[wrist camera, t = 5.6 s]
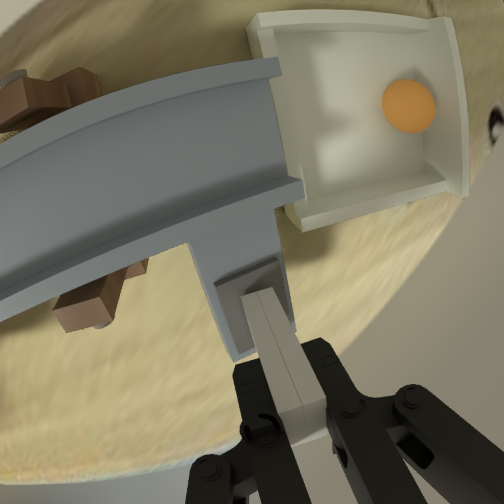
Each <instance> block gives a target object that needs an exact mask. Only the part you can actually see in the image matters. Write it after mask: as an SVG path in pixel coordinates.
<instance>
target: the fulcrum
mask: <svg viewBox="0 0 504 504" xmlns="http://www.w3.org/2000/svg"><path fill="white" fill-rule="evenodd" d="M0 86H1V91H0V133H5V132H10V131H15V130H19V133H21V132H22V131H24V130H26V129H28V128H30V127H32V126H34V125H36V124H38V123H40V122H42V121H44V120H46V119H49V118H51V117H53V116H55V115H57V114H60V113H62V112H64V111H66V110H69V109H71V108H73V107H76V106H78V105H81V104H83V103H86V102H88V101H91V100H94V99H96V98H99V97H102V96H101V91H100V87H99V83H98V79H97V74H95V73H92V72H90V71H88V70H85V69H83V68H81V67H78V68H76V69H74V70H72V71H70V72H68V73H65V74H63V75H61V76H59V77H57V78H55V79H53V80H51V81H44V80H39V79H33V78H28V77H27V71H26V70H25V69H21V70H16V71H14V72H11V73H9V74H8V75H6V76H4V77H3V78H2V79H1V80H0ZM148 260H149V258H146V259H144V260H141V261H139V262H136V263H134V264H131V265H129V266H127V267H124V268H122V269H119V270H117V271H115V272H112V273H110V274H107V275H105V276H103V277H100V278H98V279H96V280H93V281H91V282H89V283H86V284H84V285H82V286H79V287H77V288H75V289H72V290H70V291H68V292H65V293H63V294H61V295H60V297H59V299H58V301H57V303H56V305H55V307H54V309H53V312H54V314H55V316H56V317H57V319H58V320H59V322H60V324H61V325H62V327H63V328H64V330H65V332H66V333H69V332H73V331H77V330H80V329H84V328H88V327H92V326H93V327H94V328H95V329H101V328H104V327H106V326H108V325H109V324H110V323H111V322H112V321H113V320H114V318H115V311H116V308H117V304H118V300H119V297H120V293H121V289H122V286H123V282H124V280H126V279H129V278H132V277H136V276H139V275H142V274H146V270H147V265H148Z"/></svg>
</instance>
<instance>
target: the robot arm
mask: <svg viewBox="0 0 504 504" xmlns="http://www.w3.org/2000/svg"><path fill="white" fill-rule="evenodd" d="M240 297H241V300H242V304H243V307H244V311H245V314H246V317H247V321H248V324H249V327H250V331H251V334H252V337H253V340H254V344H255V347H256V350H257V353H258V356H259V358H257V359H254V360H251V361H247V362H244V363H240V364H237V365H235V368H234V372H233V375H232V376H233V381H234V385H235V390H236V394H237V399H238V403H239V408H240V412H241V416H242V423H241V425H240V435H241V436H242V439H241V441H240V442H239V443H238V444H237V445H236V446H235V447H234V448H232V449H231V450H229V451H227V452H225V453H223V454H222V455H215V454H209V455H204V456H202V457H200V458H198V459H197V460H196V461H195V462H194V463H193V464H192V467H191V469H190V475H189V480H188V488H187V494H186V501H185V504H249V495H250V494H252V493H254V492H256V491H257V490H258V493H259V496H260V499H261V503H262V504H312V503H311V500H310V498H309V495H308V492H307V489H306V487H305V484H304V481H303V478H302V476H301V473H300V470H299V467H298V465H297V462H296V459H295V456H294V454H293V451H292V448H291V447H293V446H296V445H300V444H303V443H306V442H308V441H311V440H314V439H317V438H320V437H323V436H325V435H328V431H329V434H330V436H331V438H332V450H333V454H337V457H338V459H339V461H340V464H341V466H342V468H343V471H344V473H345V475H346V477H347V480H348V482H349V484H350V486H351V489H352V491H353V493H354V495H355V497H356V500H357V502H358V504H428V503H427V502H426V500H425V498H424V496H423V494H422V493H421V491H420V489H419V487H418V485H417V484H416V482H415V480H414V478H413V476H412V474H411V473H410V471H409V469H408V467H407V466H406V464H405V462H404V460H405V461H406V462H407V463H408V464H409V465H410V466H411V467H412V468H413V469H414V470H415V471H417V473H418V474H420V475H421V476H422V477H423V478H424V479H425V480H426V481H427V482H428V483H429V484H430V485H431V486H432V487H433V488H434V489H435V490H436V491H437V492H438V493H439V494H440V495H441V496H443V497H444V498H445V499H446V500H447V501H448V502H449V503H450V504H504V452H503V451H502V450H501V449H499V448H498V447H497V446H496V445H495V444H493V443H492V442H491V441H490V440H488V439H487V438H486V437H485V436H484V435H482V434H481V433H480V432H479V431H477V430H476V429H475V428H474V427H472V426H471V425H470V424H469V423H468V422H466V421H465V420H464V419H463V418H461V417H460V416H459V415H458V414H457V413H455V412H454V411H453V410H452V409H451V408H449V407H448V406H447V405H445V404H444V403H443V402H442V401H441V400H440V399H438V398H437V397H436V396H435V395H433V394H432V393H431V392H429V390H427V389H426V388H424V387H422V386H421V385H416V384H410V385H406V386H404V387H402V388H400V389H399V390H398V392H397V393H396V394H395V395H393V396H386V397H380V398H373V397H368V396H365V395H363V394H362V393H360V392H359V391H358V390H357V389H356V387H355V386H354V384H353V382H352V381H351V379H350V377H349V375H348V373H347V372H346V370H345V368H344V367H343V365H342V363H341V362H340V360H339V358H338V356H337V355H336V353H335V351H334V350H333V348H332V346H331V345H330V343H328V342H327V341H325V340H324V339H322V338H321V337H320V338H317V339H314V340H311V341H308V342H305V343H302V344H300V343H299V341H298V339H297V337H296V334H295V332H294V330H293V328H292V326H291V324H290V322H289V320H288V318H287V316H286V314H285V312H284V310H283V308H282V306H281V304H280V302H279V300H278V298H277V296H276V294H275V292H274V290H273V287H270V288H267V289H263V290H260V291H257V292H253V293H250V294H247V295H243V296H240ZM403 459H404V460H403Z"/></svg>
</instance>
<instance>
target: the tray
mask: <svg viewBox="0 0 504 504" xmlns="http://www.w3.org/2000/svg"><path fill="white" fill-rule="evenodd" d="M245 30H246V34H247V38H248V42H249V46H250V50H251V54H252V58H253V59H261V58H270V57H278V59H279V63H280V68H281V72H282V76H278V77H274V78H271V79H268V82H269V86H270V91H271V95H272V100H273V104H274V109H275V114H276V118H277V123H278V128H279V133H280V138H281V143H282V148H283V153H284V158H285V163H286V169H287V174H288V176H291V177H295V178H298V179H302V180H303V185H304V191H305V198H303V199H300V200H297V201H295V202H292V203H289V204H286V205H284V209H285V215H286V216H287V217H288V218H289V219H290V220H291V221H292V222H293V223H294V224H295V225H296V226H297V227H298V228H299V230H300V231H301V232H302V233H304V232H307V231H311V230H314V229H318V228H321V227H324V226H328V225H331V224H335V223H338V222H342V221H345V220H349V219H352V218H356V217H359V216H363V215H366V214H370V213H373V212H376V211H380V210H383V209H387V208H390V207H394V206H397V205H401V204H404V203H408V202H411V201H415V200H418V199H422V198H425V197H429V196H432V195H436V194H439V193H443V192H446V191H447V192H449V193H451V194H454V195H456V196H458V197H460V198H464V197H467V196H469V182H470V145H469V124H468V111H467V100H466V92H465V84H464V77H463V70H462V64H461V58H460V53H459V48H458V43H457V39H456V34H455V30H454V26H453V22H452V18H449V17H445V16H441V17H436V18H431V19H423V18H418V17H412V16H405V15H398V14H391V13H382V12H371V11H358V10H334V9H310V10H286V11H272V12H262V13H257V14H256V15H255V17H254V18H253V19H252V20H251V22H250V23H249V24H248V26H247V27H246V28H245ZM401 79H410V80H414V81H416V82H418V83H420V84H422V85H423V86H424V87H426V88H427V90H428V91H429V92H430V93H431V95H432V97H433V99H434V103H435V117H434V119H433V121H432V123H431V124H430V126H429V127H428V128H426V129H425V130H423V131H422V132H418V133H405V132H402V131H400V130H398V129H396V128H395V127H393V126H392V125H391V124H390V123H389V122H388V120H387V119H386V117H385V115H384V113H383V110H382V96H383V93H384V91H385V89H386V88H387V87H388V86H389V85H390V84H391V83H393V82H395V81H397V80H401Z"/></svg>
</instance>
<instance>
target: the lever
mask: <svg viewBox="0 0 504 504" xmlns="http://www.w3.org/2000/svg"><path fill="white" fill-rule="evenodd" d="M278 76H282V72H281V68H280V63H279V59H278V57H270V58H261V59H253V60H246V61H239V62H233V63H227V64H221V65H215V66H210V67H205V68H200V69H195V70H191V71H186V72H182V73H178V74H174V75H170V76H166V77H162V78H158V79H155V80H151V81H148V82H144V83H141V84H137V85H134V86H131V87H128V88H125V89H122V90H119V91H116V92H113V93H110V94H107V95H104V96H102V97H99V98H96V99H94V100H91V101H88V102H86V103H83V104H81V105H78V106H76V107H73V108H71V109H69V110H66V111H64V112H62V113H60V114H57V115H55V116H53V117H51V118H49V119H46V120H44V121H42V122H40V123H38V124H36V125H34V126H32V127H30V128H28V129H26V130H24V131H22V132H21V133H19V134H17V135H15V136H13V137H11V138H10V139H8V140H6V141H4V142H2V143H1V144H0V322H1V321H3V320H6V319H8V318H10V317H12V316H14V315H16V314H19V313H21V312H23V311H25V310H27V309H30V308H32V307H34V306H36V305H38V304H41V303H43V302H45V301H47V300H50V299H52V298H54V297H56V296H59V295H61V294H63V293H65V292H68V291H70V290H72V289H75V288H77V287H79V286H82V285H84V284H86V283H89V282H91V281H93V280H96V279H98V278H100V277H103V276H105V275H107V274H110V273H112V272H115V271H117V270H119V269H122V268H124V267H127V266H129V265H131V264H134V263H136V262H139V261H141V260H144V259H146V258H149V257H151V256H153V255H156V254H158V253H161V252H163V251H166V250H168V249H171V248H173V247H176V246H178V245H181V244H183V243H186V242H187V244H188V247H189V250H190V252H191V255H192V258H193V261H194V264H195V267H196V270H197V273H198V276H199V278H200V281H201V284H202V287H203V290H204V292H205V295H206V298H207V301H208V303H209V306H210V309H211V311H212V314H213V317H214V319H215V322H216V325H217V327H218V330H219V332H220V335H221V338H222V340H223V343H224V345H225V348H226V350H227V353H228V354H229V356H230V358H231V359H232V361H233V363H234V362H236V361H238V360H241V359H243V358H245V357H247V356H249V355H251V354H253V353H255V352H257V350H256V347H255V344H254V340H253V337H252V334H251V331H250V327H249V324H248V321H247V317H246V314H245V311H244V307H243V304H242V300H241V297H240V296H243V295H247V294H250V293H253V292H257V291H260V290H263V289H267V288H270V287H273V290H274V292H275V294H276V296H277V298H278V300H279V302H280V304H281V306H282V308H283V310H284V312H285V314H286V316H287V318H288V320H289V322H290V324H291V326H292V328H293V330H294V332H296V326H295V320H294V314H293V308H292V303H291V297H290V292H289V286H288V281H287V275H286V270H285V264H284V259H283V254H282V248H281V243H280V238H279V233H278V228H277V223H276V218H275V212H274V209H275V208H278V207H281V206H284V205H286V204H289V203H292V202H295V201H297V200H300V199H303V198H305V191H304V185H303V180H302V179H298V178H295V177H291V176H288V174H287V169H286V163H285V158H284V153H283V148H282V143H281V138H280V133H279V128H278V123H277V118H276V114H275V109H274V104H273V100H272V95H271V91H270V86H269V82H268V79H271V78H274V77H278Z"/></svg>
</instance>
